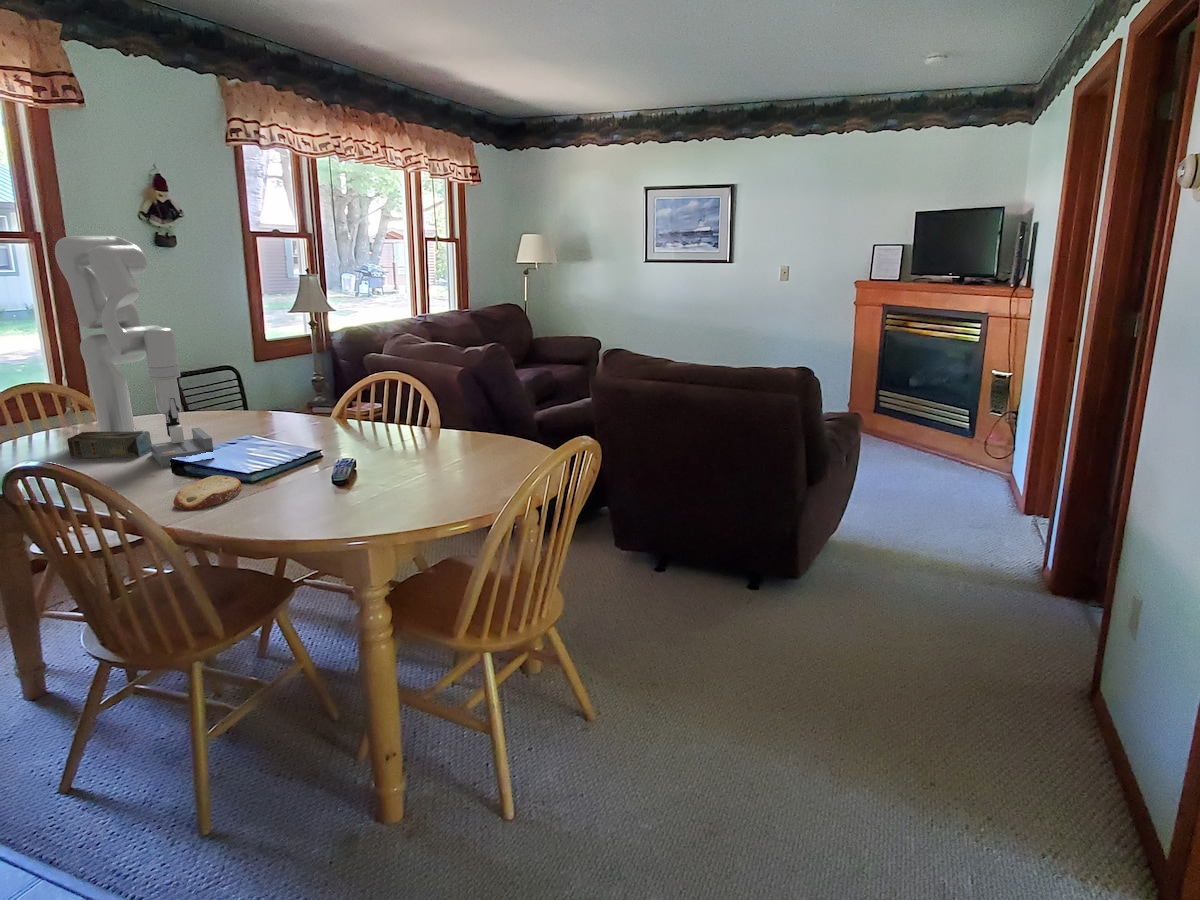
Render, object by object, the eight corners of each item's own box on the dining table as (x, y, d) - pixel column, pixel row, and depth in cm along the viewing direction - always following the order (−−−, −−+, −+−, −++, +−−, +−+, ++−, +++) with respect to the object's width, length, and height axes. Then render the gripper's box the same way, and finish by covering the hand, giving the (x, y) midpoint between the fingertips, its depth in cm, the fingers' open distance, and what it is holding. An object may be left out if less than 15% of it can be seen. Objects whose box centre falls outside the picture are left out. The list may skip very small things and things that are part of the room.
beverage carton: (139, 458, 220) (135, 435, 218) (69, 460, 219) (64, 437, 217) (153, 450, 227) (150, 428, 226) (85, 452, 226) (81, 430, 225)
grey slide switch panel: (151, 455, 222) (148, 434, 220) (202, 447, 229) (199, 427, 228) (162, 467, 210) (158, 445, 208) (214, 458, 217) (211, 437, 216)
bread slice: (229, 480, 198) (227, 466, 197) (263, 495, 187) (261, 480, 186) (153, 498, 185) (150, 483, 184) (184, 515, 174) (182, 499, 173)
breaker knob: (170, 441, 223) (168, 426, 221) (182, 440, 224) (180, 424, 223) (172, 443, 221) (170, 427, 220) (184, 441, 222) (181, 426, 221)
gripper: (145, 370, 224) (155, 433, 229) (154, 377, 212) (165, 443, 217) (174, 367, 228) (184, 429, 233) (184, 374, 217) (194, 438, 221)
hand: (174, 435), depth 225 cm, fingers closed
